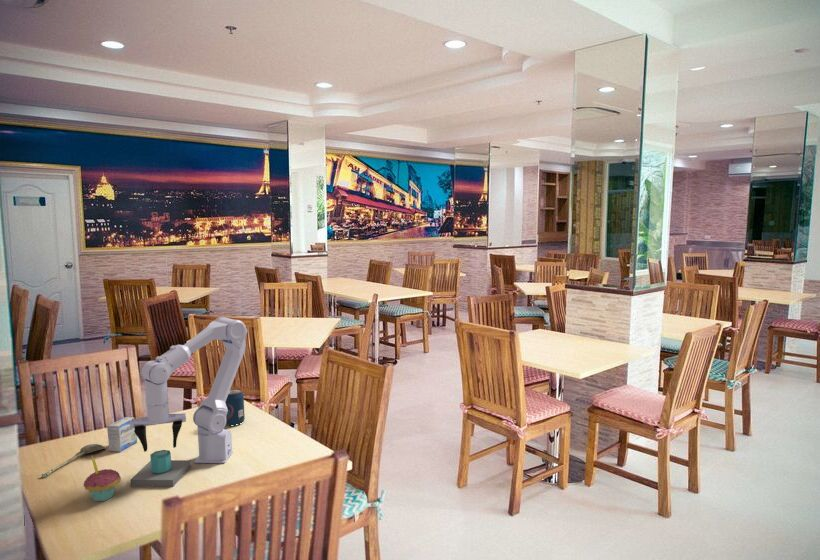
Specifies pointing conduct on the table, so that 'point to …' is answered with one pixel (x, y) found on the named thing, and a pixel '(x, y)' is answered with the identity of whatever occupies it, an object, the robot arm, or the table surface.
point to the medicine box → (121, 435)
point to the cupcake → (102, 483)
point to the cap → (160, 461)
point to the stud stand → (161, 475)
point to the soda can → (235, 407)
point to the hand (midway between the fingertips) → (160, 448)
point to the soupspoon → (83, 451)
